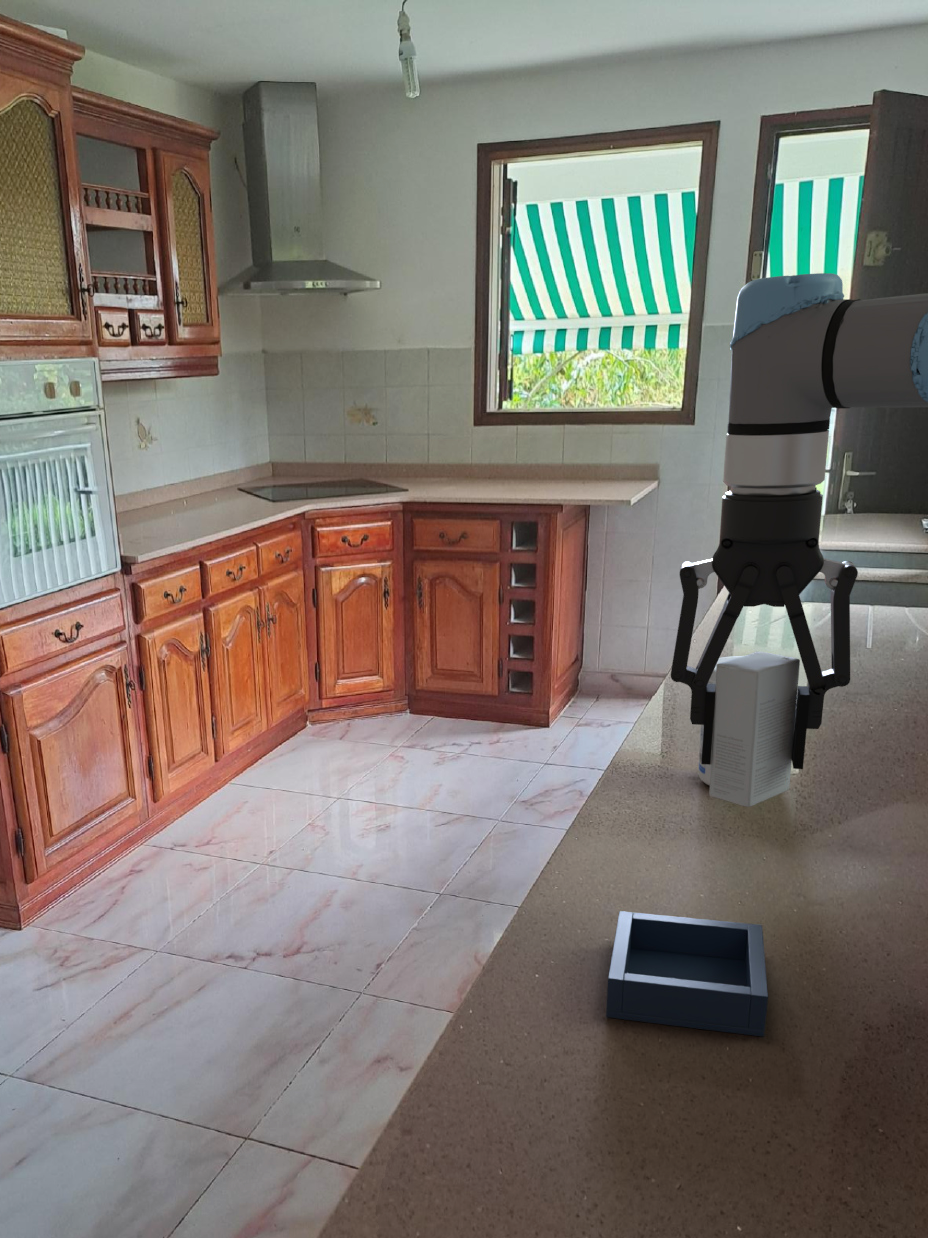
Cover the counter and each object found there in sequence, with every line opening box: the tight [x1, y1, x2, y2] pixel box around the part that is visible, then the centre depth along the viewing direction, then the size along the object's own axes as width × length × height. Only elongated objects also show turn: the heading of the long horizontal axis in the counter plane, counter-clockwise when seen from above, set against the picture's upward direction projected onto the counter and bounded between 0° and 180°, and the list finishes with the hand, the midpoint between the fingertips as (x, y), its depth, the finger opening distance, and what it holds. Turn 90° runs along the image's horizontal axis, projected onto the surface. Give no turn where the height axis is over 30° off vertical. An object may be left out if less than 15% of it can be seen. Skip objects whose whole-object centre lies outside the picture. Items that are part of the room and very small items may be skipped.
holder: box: [605, 910, 769, 1038], centre depth 92 cm, size 12×12×4 cm
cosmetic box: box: [708, 650, 801, 808], centre depth 95 cm, size 6×4×12 cm
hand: (751, 761), depth 96 cm, fingers closed on cosmetic box, 7 cm apart
